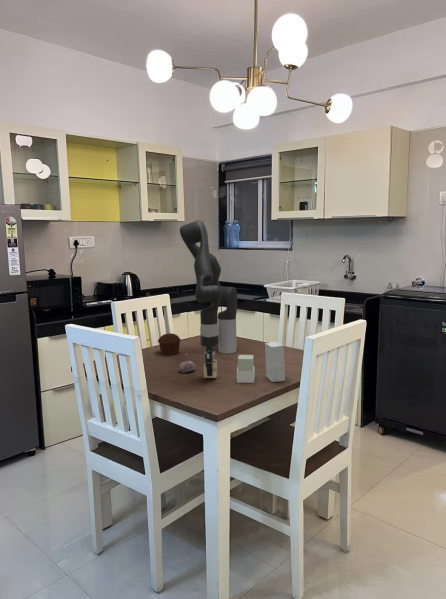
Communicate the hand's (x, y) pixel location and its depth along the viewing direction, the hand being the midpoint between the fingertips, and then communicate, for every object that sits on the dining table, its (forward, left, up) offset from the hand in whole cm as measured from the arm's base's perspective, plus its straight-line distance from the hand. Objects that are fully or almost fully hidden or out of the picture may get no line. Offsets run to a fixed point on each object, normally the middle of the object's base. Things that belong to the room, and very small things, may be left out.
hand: (210, 373), depth 189 cm
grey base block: (+1, +15, -2) cm, 15 cm away
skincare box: (-1, +27, -2) cm, 27 cm away
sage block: (+1, +15, +3) cm, 15 cm away
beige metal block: (0, 0, -1) cm, 1 cm away
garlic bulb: (-10, -11, -3) cm, 15 cm away
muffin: (-39, -25, -2) cm, 46 cm away
